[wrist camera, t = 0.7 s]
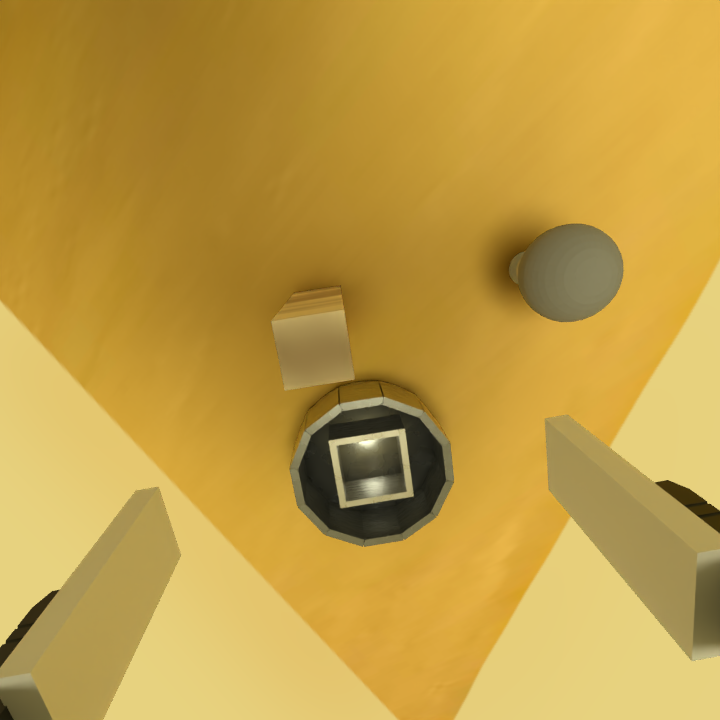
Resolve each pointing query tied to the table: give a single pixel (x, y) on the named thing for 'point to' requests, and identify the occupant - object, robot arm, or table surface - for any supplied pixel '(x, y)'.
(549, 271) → the light bulb
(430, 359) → the table surface
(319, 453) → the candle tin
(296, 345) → the tan square post
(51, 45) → the table surface
